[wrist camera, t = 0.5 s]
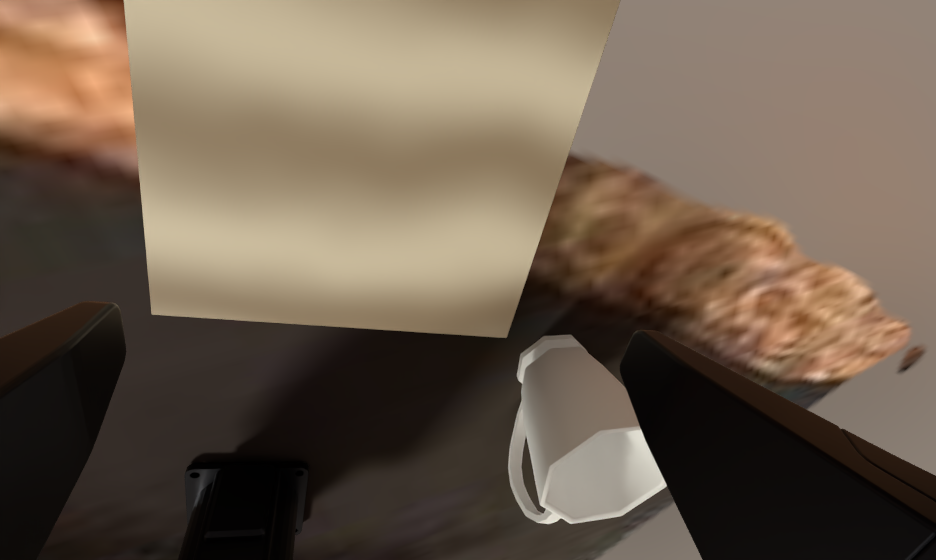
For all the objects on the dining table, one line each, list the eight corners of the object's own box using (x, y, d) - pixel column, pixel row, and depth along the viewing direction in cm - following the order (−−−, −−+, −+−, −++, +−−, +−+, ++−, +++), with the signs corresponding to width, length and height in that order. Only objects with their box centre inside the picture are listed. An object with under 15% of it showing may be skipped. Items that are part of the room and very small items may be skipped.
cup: (629, 332, 29) (713, 438, 22) (543, 445, 33) (593, 565, 26) (532, 299, 26) (595, 410, 20) (451, 427, 30) (481, 556, 24)
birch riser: (485, 290, 25) (506, 338, 22) (182, 261, 21) (151, 314, 18) (576, -17, 19) (625, -16, 15) (162, -145, 15) (107, -180, 11)
